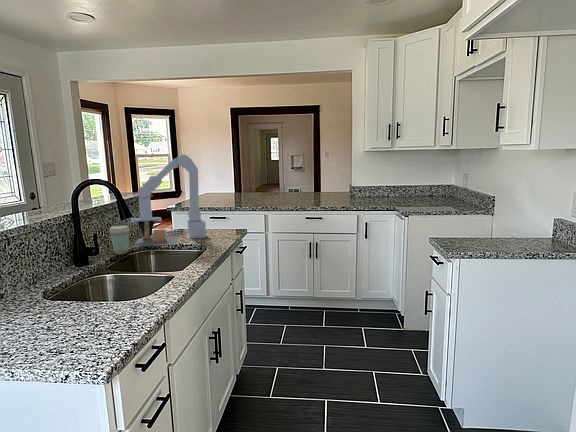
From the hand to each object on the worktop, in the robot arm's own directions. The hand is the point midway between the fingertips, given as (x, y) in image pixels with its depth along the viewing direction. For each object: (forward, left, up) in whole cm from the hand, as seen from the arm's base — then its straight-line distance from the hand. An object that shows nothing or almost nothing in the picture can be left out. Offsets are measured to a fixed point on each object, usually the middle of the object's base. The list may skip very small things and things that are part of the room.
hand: (147, 235), depth 199 cm
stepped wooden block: (0, 0, -2) cm, 2 cm away
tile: (-7, +6, -2) cm, 9 cm away
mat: (-5, +6, -2) cm, 8 cm away
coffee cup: (+8, +24, -3) cm, 25 cm away
